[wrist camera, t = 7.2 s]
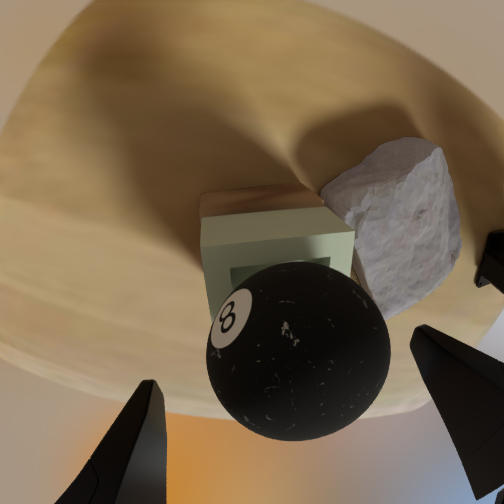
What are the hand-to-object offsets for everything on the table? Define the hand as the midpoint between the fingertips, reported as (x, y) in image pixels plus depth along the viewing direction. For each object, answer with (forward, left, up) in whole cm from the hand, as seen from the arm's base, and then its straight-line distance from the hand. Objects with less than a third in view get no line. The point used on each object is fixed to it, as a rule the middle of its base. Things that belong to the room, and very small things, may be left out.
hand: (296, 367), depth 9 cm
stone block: (-11, +1, -11) cm, 16 cm away
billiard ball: (0, 0, -4) cm, 4 cm away
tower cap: (0, 0, -7) cm, 7 cm away
